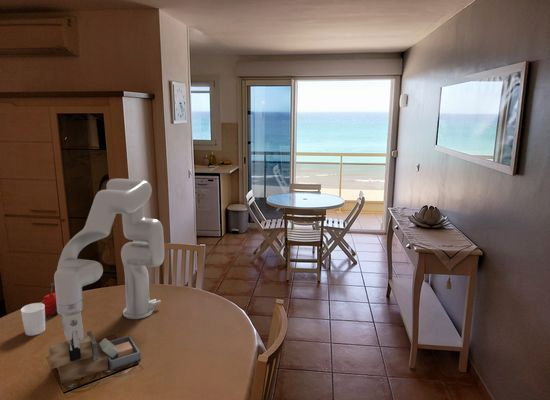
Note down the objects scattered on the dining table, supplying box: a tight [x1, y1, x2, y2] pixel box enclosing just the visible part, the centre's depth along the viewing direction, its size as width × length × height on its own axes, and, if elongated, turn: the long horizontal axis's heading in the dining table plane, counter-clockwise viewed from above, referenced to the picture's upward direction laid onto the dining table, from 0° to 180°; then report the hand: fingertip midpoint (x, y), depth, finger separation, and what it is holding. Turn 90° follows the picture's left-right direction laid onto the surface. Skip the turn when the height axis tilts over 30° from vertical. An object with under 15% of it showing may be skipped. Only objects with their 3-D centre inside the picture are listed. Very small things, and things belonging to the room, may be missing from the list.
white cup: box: [20, 302, 46, 337], centre depth 154 cm, size 8×8×10 cm
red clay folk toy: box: [41, 281, 59, 317], centre depth 167 cm, size 8×7×15 cm
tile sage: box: [98, 338, 118, 358], centre depth 138 cm, size 5×5×2 cm
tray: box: [105, 335, 141, 371], centre depth 141 cm, size 10×13×3 cm
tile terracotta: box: [115, 342, 133, 358], centre depth 142 cm, size 5×5×2 cm
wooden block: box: [56, 342, 109, 384], centre depth 134 cm, size 14×11×4 cm
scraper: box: [48, 330, 98, 369], centre depth 131 cm, size 13×9×6 cm
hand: (74, 355), depth 132 cm, fingers closed on scraper, 3 cm apart
